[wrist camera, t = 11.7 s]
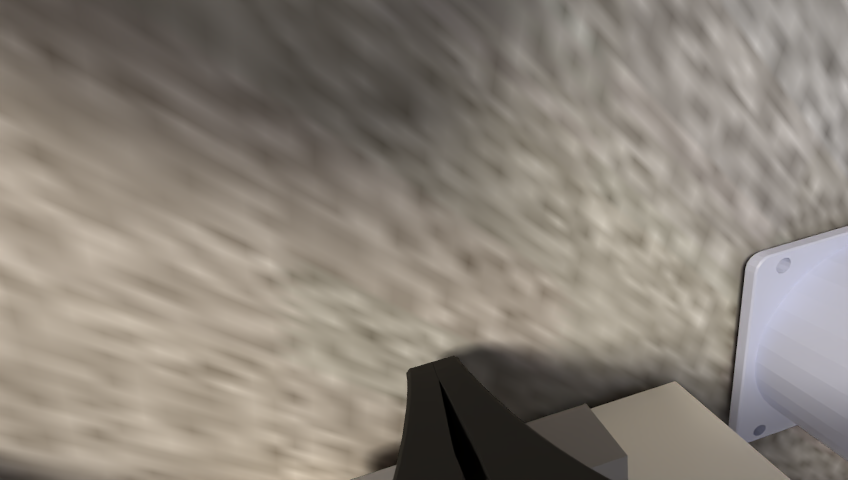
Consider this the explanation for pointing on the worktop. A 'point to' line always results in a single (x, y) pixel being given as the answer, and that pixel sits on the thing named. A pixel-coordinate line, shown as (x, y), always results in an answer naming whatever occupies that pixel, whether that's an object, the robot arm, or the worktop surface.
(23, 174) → the worktop surface
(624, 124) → the worktop surface
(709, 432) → the tray
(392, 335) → the worktop surface
